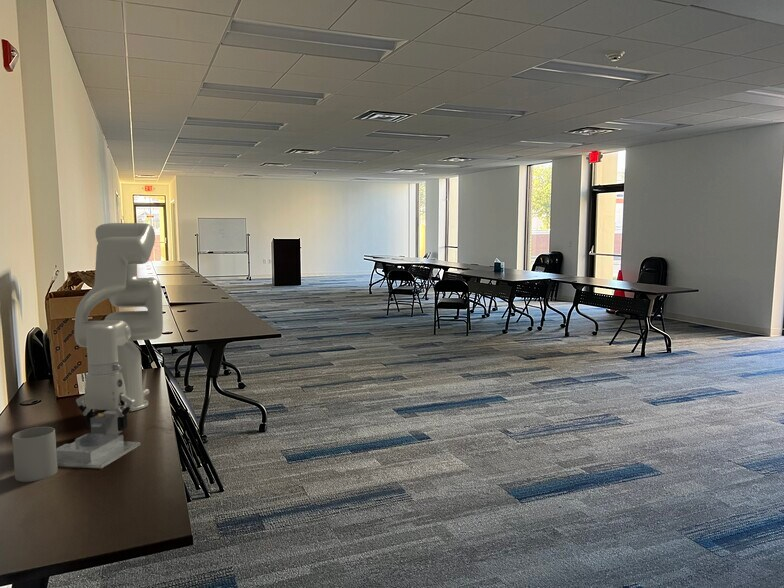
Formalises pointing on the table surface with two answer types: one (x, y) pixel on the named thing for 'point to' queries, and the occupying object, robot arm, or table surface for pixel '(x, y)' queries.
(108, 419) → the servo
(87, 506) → the table surface
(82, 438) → the board
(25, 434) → the cup
